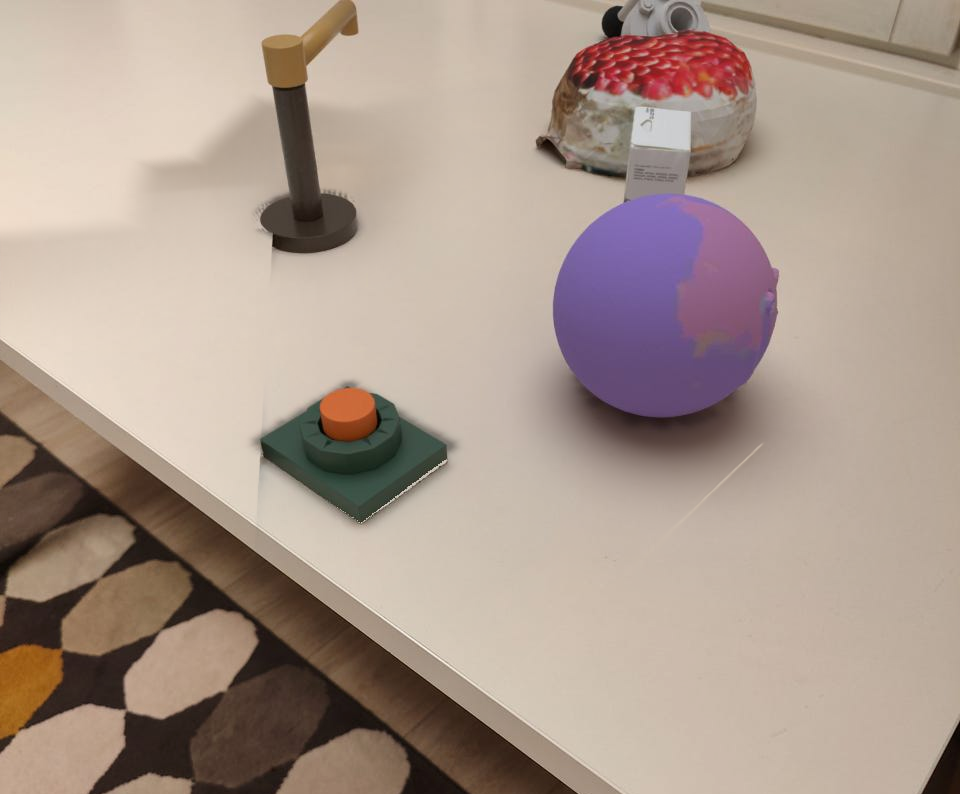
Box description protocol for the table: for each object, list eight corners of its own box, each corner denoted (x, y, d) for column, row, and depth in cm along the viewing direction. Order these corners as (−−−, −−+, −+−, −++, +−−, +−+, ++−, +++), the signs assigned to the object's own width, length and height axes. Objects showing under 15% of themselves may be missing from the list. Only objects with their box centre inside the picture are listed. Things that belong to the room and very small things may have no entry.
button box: (263, 457, 65) (254, 418, 63) (350, 403, 70) (344, 365, 67) (361, 525, 60) (355, 485, 58) (447, 463, 65) (445, 423, 62)
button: (311, 426, 63) (308, 405, 62) (352, 401, 65) (349, 380, 64) (348, 449, 61) (345, 428, 60) (388, 423, 63) (386, 402, 62)
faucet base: (260, 256, 86) (231, 107, 77) (264, 211, 93) (237, 69, 83) (359, 248, 87) (342, 100, 78) (356, 203, 93) (340, 62, 84)
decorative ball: (752, 476, 63) (799, 279, 53) (531, 444, 66) (536, 251, 56) (758, 350, 74) (799, 165, 64) (568, 327, 77) (578, 147, 66)
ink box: (673, 281, 81) (691, 148, 73) (615, 277, 82) (627, 145, 74) (675, 234, 88) (692, 106, 80) (621, 230, 88) (633, 103, 80)
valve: (657, 124, 130) (645, 14, 129) (727, 63, 110) (712, -67, 110) (587, 127, 127) (573, 15, 127) (645, 66, 108) (630, -67, 108)
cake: (653, 79, 116) (662, -9, 110) (794, 149, 101) (815, 52, 94) (491, 119, 108) (491, 26, 101) (618, 203, 92) (628, 100, 86)
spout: (301, 103, 80) (294, 49, 77) (264, 100, 80) (254, 46, 77) (368, 31, 93) (364, -18, 90) (336, 29, 94) (330, -20, 91)
